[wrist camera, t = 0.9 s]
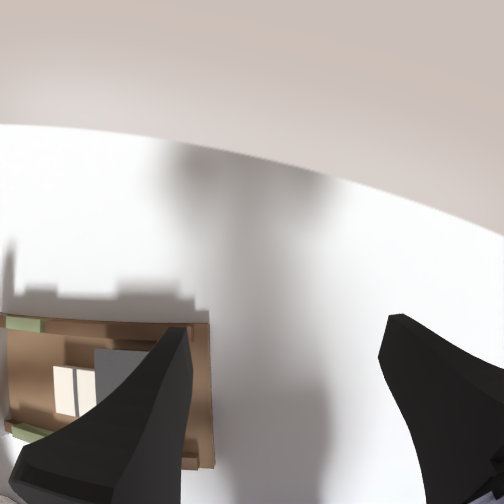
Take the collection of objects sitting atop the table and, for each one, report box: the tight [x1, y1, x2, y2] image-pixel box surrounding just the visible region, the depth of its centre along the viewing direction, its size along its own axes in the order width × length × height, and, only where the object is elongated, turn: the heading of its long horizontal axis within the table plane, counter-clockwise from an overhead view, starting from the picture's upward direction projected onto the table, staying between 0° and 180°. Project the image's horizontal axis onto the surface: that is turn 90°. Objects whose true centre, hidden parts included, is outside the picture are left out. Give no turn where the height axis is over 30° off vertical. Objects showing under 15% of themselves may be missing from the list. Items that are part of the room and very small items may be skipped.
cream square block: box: [53, 365, 96, 418], centre depth 19 cm, size 4×4×2 cm
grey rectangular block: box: [94, 348, 184, 446], centre depth 19 cm, size 7×5×4 cm
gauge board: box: [0, 312, 215, 470], centre depth 18 cm, size 11×20×6 cm, turn 92°
